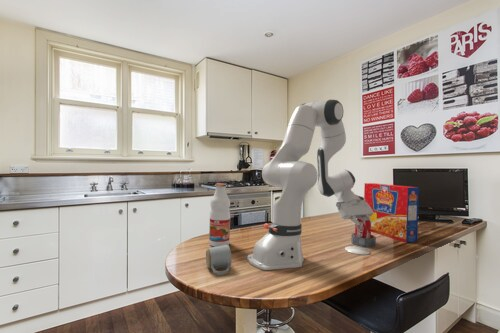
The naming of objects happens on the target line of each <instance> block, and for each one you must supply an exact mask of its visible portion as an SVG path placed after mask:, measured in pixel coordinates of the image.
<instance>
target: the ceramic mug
mask: <svg viewBox="0 0 500 333" xmlns="http://www.w3.org/2000/svg"><path fill="white" fill-rule="evenodd" d="M232 259H233V258H232V251H231V248H230V246H229V245H223V246H218V247H214V246H211V247H209V248H207V249H206V252H205V262H206V267H207V268H208V269H209V270H211V271H213V273H214V275H216V276H217V275H218V276H225V275H226V274H227V273H229V271H230V268H231V266H232ZM217 269H225V270H222V271H221V270H220V271H218V270H217Z"/></svg>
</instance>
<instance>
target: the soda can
mask: <svg viewBox="0 0 500 333" xmlns="http://www.w3.org/2000/svg"><path fill="white" fill-rule="evenodd" d="M356 219H357V220H358V221H359V222H360V225H359V226H357V225H356V224H355V223H354V224H355V226H354V233H355V236H357V237H361V238H371V235H372V232H371V222H370V219H369V218H365V217H357V218H356Z"/></svg>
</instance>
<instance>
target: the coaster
mask: <svg viewBox="0 0 500 333" xmlns="http://www.w3.org/2000/svg"><path fill="white" fill-rule="evenodd" d="M344 250H345V251H346V252H347V253H351V254H352V255H353V254H354V255H359V256H368V255H370V254H371V250H370V249H369V248H368V249H367V247H361V246H357V245H355V246H354V245H349V246H345V247H344Z"/></svg>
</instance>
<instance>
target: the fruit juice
mask: <svg viewBox="0 0 500 333" xmlns="http://www.w3.org/2000/svg"><path fill="white" fill-rule="evenodd" d="M226 188H227V183H221V182H220V183H215V191H214V194H213V196H212V198H211V199H210V212H209V235H208V237H209V238H208V243H209V246H211V247H218V246H223V245H228V246H229V245H230V238H231V212H230V207H231V200H230V198H229V196H228V193H227V190H226Z"/></svg>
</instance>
